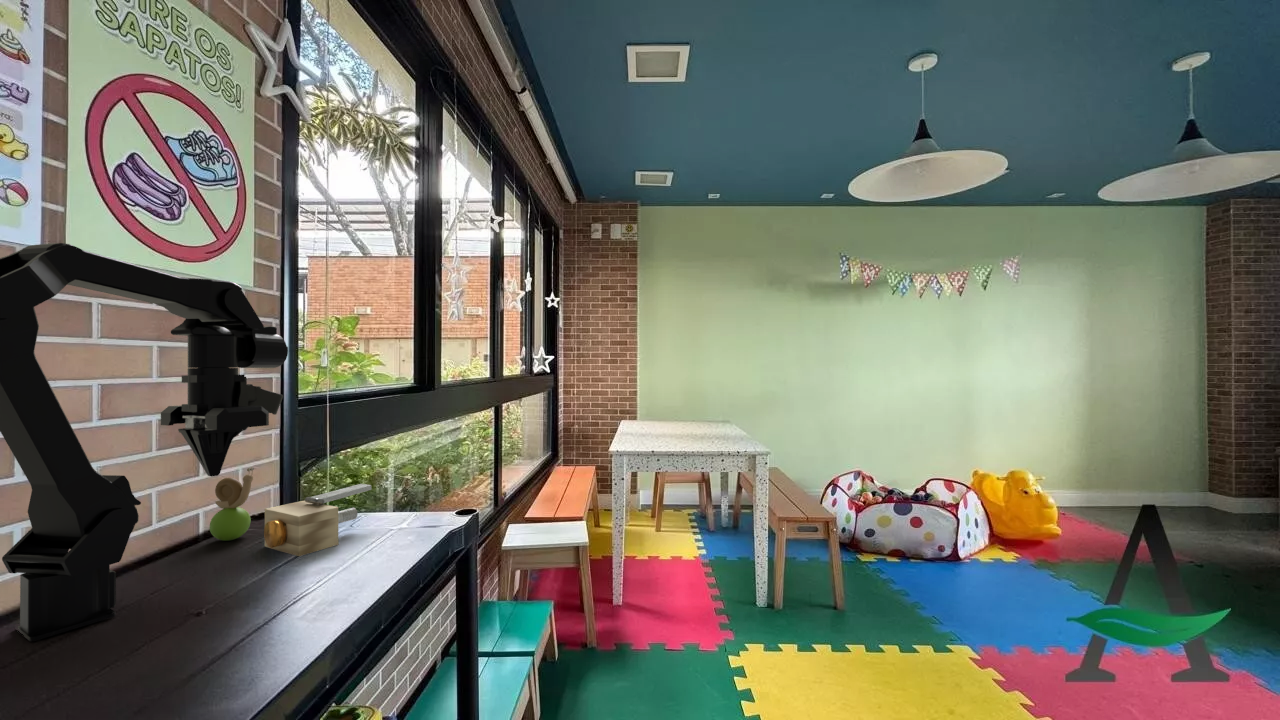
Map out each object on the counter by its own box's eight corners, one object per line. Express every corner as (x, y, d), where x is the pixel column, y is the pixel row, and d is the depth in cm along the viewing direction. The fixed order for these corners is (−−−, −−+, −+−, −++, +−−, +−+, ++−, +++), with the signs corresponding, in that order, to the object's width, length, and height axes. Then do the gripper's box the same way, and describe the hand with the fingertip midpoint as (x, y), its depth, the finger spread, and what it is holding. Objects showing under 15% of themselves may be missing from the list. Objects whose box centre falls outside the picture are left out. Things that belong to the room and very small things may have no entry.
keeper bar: (318, 505, 84) (318, 500, 84) (304, 503, 86) (304, 497, 86) (373, 490, 92) (373, 485, 92) (359, 488, 94) (359, 483, 94)
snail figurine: (239, 544, 85) (239, 470, 85) (200, 545, 85) (200, 471, 85) (264, 534, 90) (263, 464, 90) (227, 534, 90) (227, 465, 90)
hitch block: (298, 556, 79) (298, 516, 79) (264, 546, 83) (264, 508, 84) (338, 544, 84) (338, 507, 84) (304, 535, 89) (304, 500, 89)
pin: (277, 549, 79) (277, 523, 79) (263, 545, 81) (263, 519, 81) (361, 526, 90) (360, 503, 90) (347, 523, 92) (347, 500, 92)
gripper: (307, 366, 78) (307, 471, 78) (245, 368, 87) (245, 462, 87) (218, 367, 68) (218, 486, 68) (159, 369, 78) (159, 474, 77)
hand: (213, 475), depth 75 cm, fingers closed
